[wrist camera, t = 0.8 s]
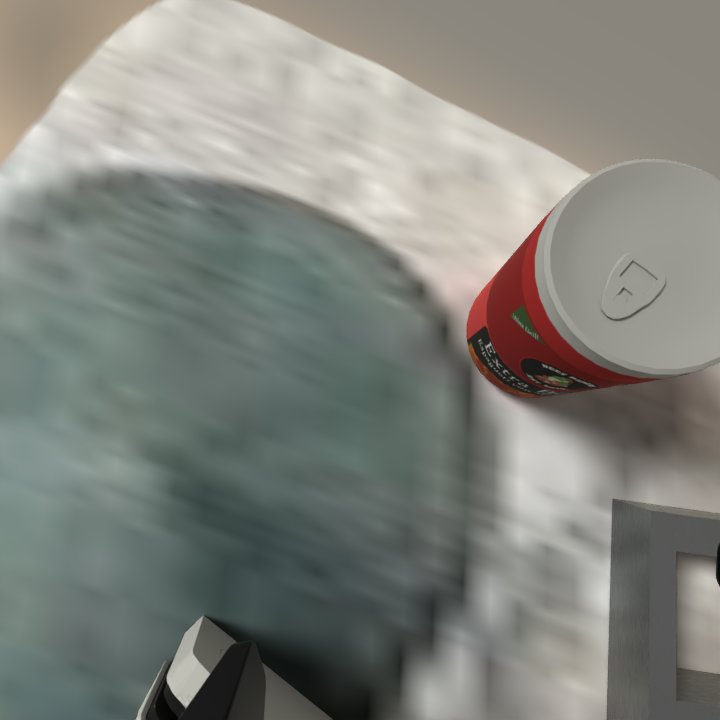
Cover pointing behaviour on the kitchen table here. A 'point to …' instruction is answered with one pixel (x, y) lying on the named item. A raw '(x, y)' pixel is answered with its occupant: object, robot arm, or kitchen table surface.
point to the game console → (195, 663)
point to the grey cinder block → (654, 614)
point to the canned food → (608, 286)
